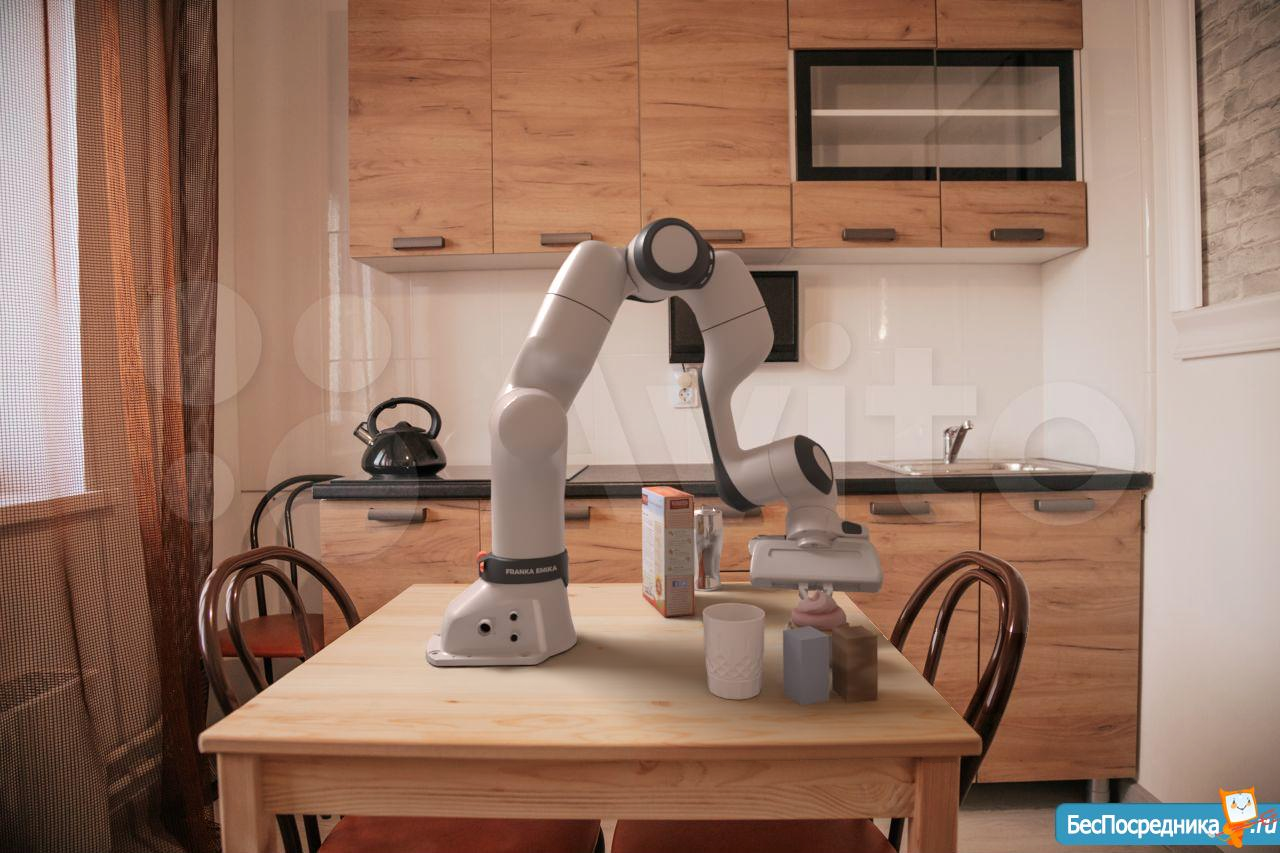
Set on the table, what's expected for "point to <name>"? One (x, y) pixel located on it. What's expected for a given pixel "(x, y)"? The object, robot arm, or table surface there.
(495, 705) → the table surface
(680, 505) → the cracker box
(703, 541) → the beer glass
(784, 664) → the slate-blue block
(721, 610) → the white cup
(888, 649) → the table surface
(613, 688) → the table surface
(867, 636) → the walnut block
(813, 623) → the cupcake
